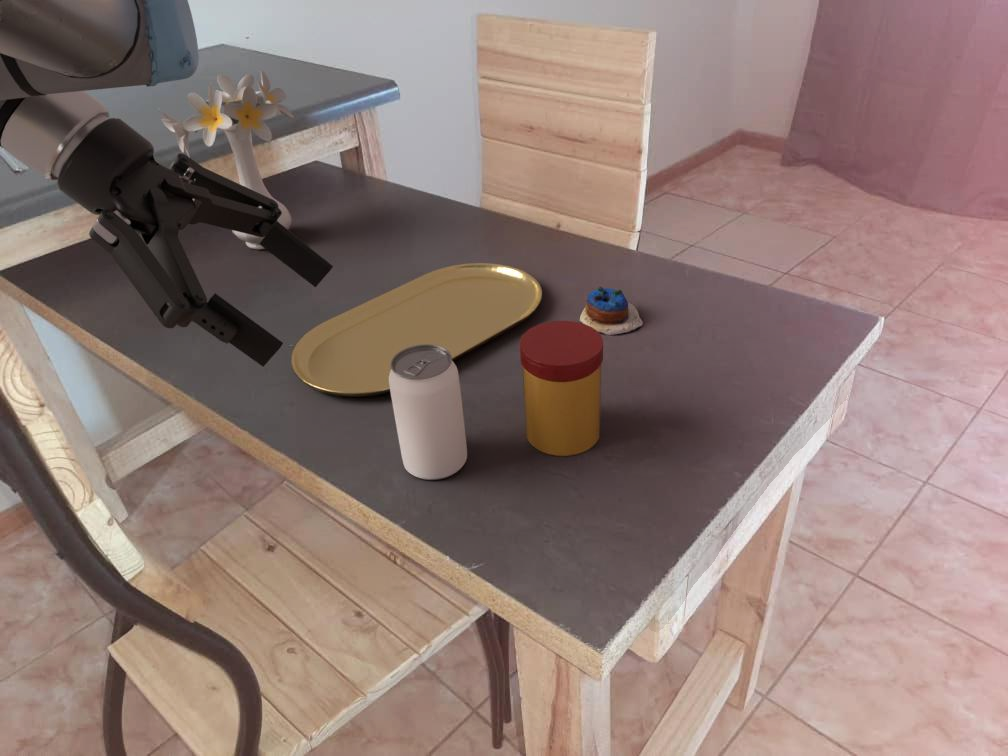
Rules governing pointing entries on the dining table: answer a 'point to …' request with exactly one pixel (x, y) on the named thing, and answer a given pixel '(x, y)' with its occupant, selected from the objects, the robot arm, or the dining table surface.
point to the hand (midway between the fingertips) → (301, 313)
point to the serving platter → (414, 325)
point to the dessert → (610, 312)
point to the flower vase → (236, 130)
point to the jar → (562, 413)
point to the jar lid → (561, 350)
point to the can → (428, 411)
